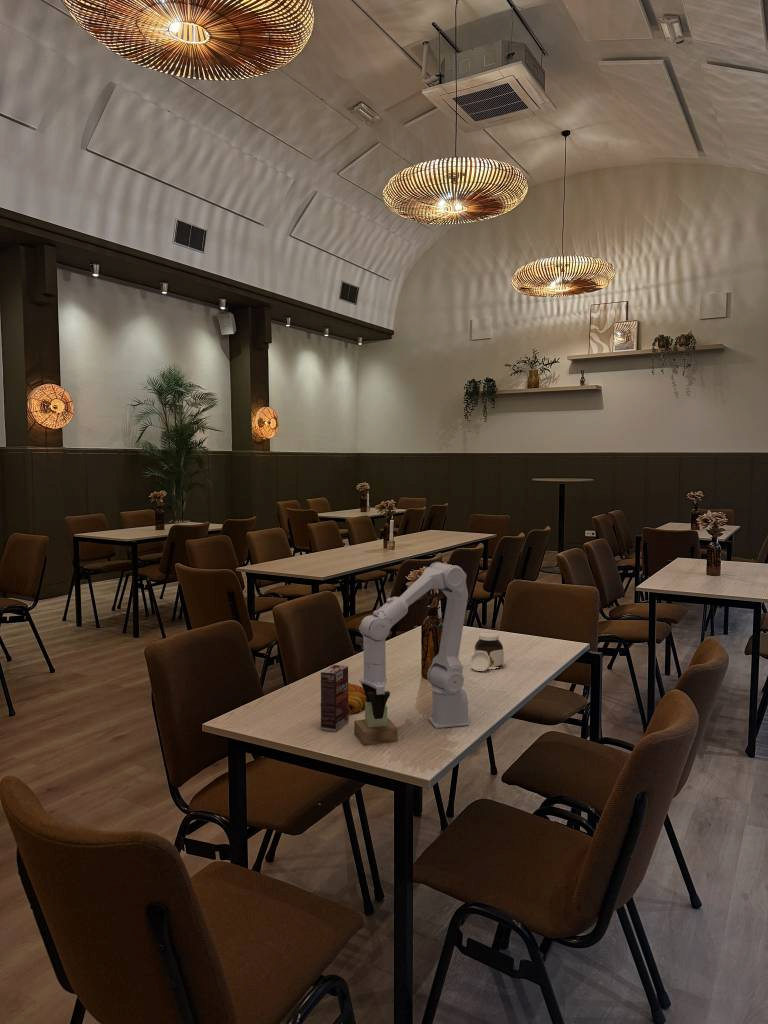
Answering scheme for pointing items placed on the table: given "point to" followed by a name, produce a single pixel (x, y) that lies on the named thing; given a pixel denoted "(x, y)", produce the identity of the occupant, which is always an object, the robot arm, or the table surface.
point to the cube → (370, 717)
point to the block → (375, 733)
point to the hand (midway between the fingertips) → (375, 713)
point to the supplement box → (334, 698)
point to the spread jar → (487, 652)
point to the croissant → (356, 698)
